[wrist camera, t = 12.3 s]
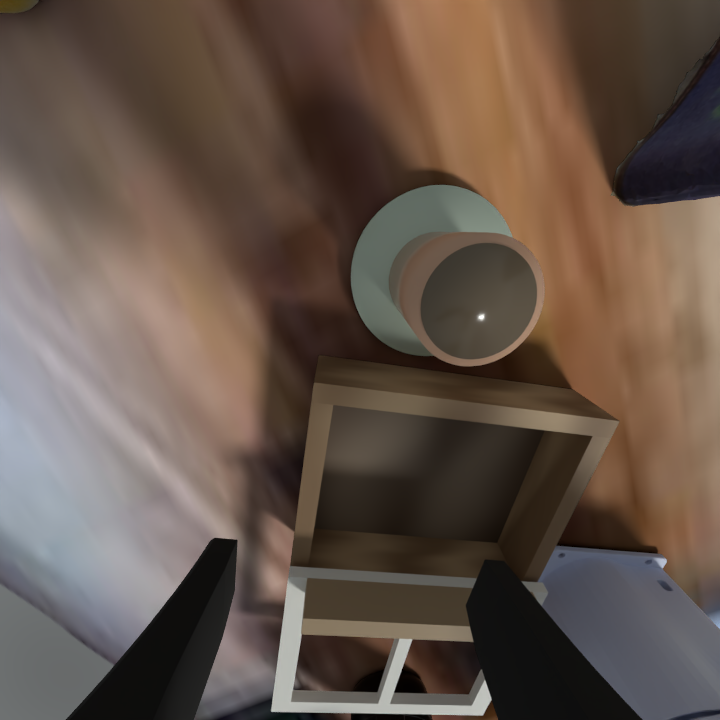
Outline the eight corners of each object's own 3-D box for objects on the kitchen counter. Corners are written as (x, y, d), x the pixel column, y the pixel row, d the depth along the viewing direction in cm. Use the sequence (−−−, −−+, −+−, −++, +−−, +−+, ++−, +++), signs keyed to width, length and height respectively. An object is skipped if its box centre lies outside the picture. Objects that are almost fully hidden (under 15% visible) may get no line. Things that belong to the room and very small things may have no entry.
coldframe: (573, 389, 20) (619, 421, 16) (503, 549, 24) (529, 599, 21) (318, 354, 18) (313, 382, 15) (295, 533, 22) (287, 584, 19)
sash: (542, 582, 20) (570, 631, 17) (479, 704, 24) (494, 756, 22) (290, 566, 18) (282, 617, 16) (272, 700, 23) (264, 755, 20)
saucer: (531, 204, 16) (540, 203, 15) (481, 360, 18) (487, 365, 18) (365, 171, 15) (366, 168, 14) (339, 339, 18) (339, 344, 17)
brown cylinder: (489, 238, 15) (565, 242, 10) (467, 328, 17) (523, 372, 12) (396, 225, 15) (426, 222, 10) (382, 319, 17) (401, 361, 11)
